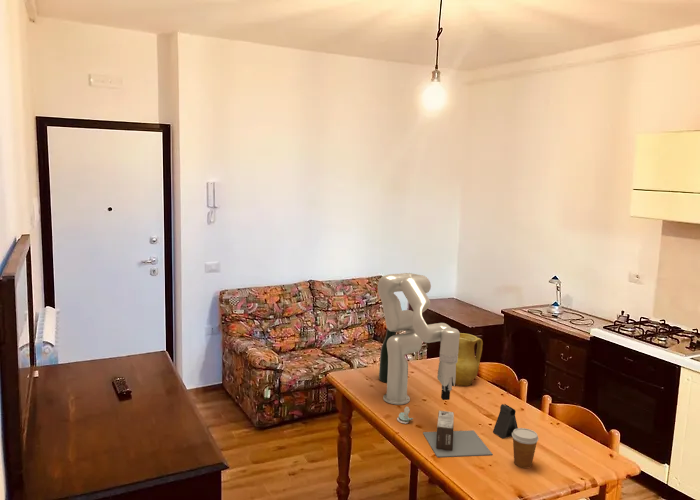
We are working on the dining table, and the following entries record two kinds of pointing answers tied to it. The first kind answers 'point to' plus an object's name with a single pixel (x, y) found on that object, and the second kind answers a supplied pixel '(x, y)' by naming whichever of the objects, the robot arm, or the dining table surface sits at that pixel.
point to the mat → (460, 444)
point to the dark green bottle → (384, 358)
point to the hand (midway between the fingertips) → (445, 399)
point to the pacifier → (404, 418)
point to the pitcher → (467, 359)
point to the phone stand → (505, 422)
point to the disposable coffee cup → (524, 446)
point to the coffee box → (445, 430)
